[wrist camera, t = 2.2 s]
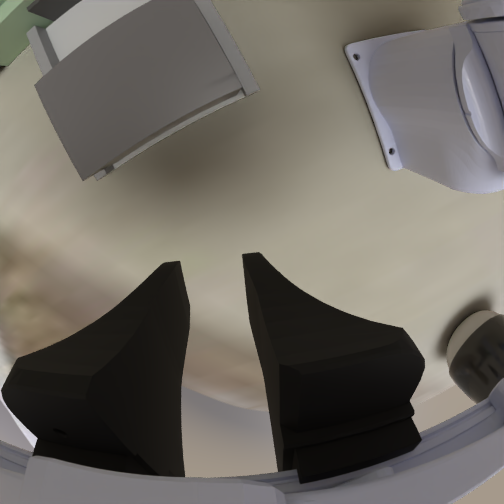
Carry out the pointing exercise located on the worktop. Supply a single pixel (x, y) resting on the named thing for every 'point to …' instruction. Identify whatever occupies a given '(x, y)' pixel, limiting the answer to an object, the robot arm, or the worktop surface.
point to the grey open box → (135, 83)
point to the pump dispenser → (477, 354)
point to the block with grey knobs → (87, 25)
